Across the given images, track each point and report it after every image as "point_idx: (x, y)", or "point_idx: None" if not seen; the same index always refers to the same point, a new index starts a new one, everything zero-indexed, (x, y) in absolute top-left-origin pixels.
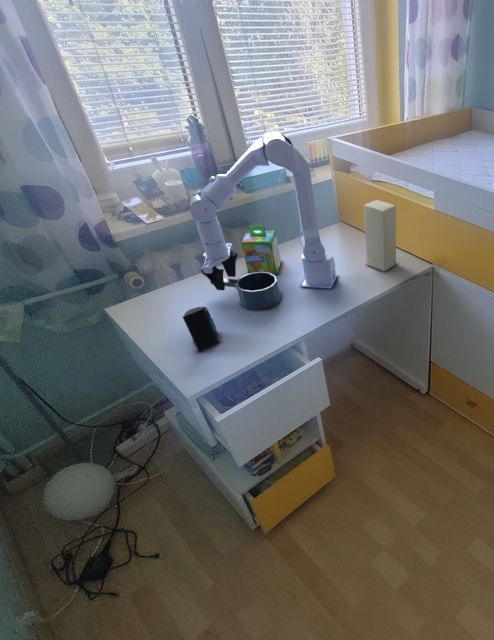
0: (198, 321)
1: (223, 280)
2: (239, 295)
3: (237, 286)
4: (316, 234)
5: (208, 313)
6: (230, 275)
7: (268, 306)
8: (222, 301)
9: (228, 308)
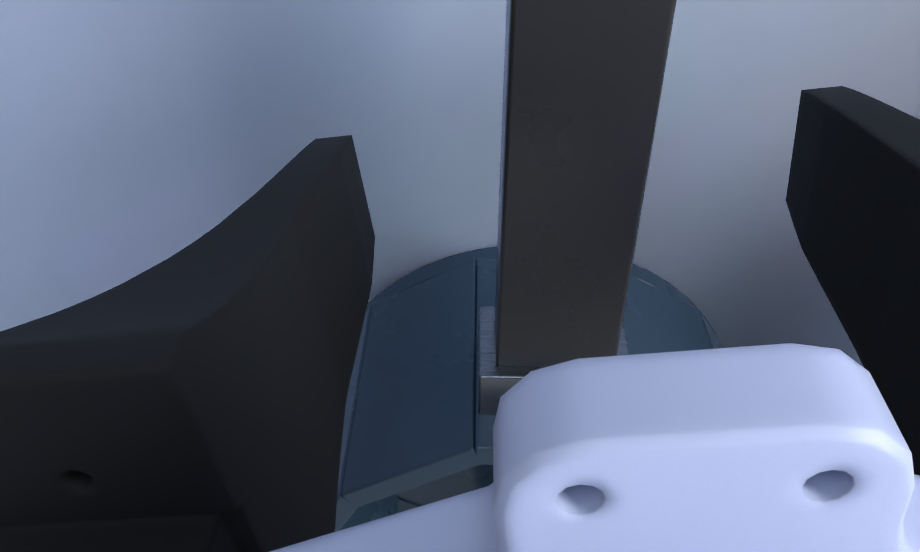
0: None
1: (347, 386)
2: (350, 395)
3: (346, 503)
4: None
5: None
6: (801, 152)
7: (404, 504)
8: (373, 41)
9: (258, 190)
